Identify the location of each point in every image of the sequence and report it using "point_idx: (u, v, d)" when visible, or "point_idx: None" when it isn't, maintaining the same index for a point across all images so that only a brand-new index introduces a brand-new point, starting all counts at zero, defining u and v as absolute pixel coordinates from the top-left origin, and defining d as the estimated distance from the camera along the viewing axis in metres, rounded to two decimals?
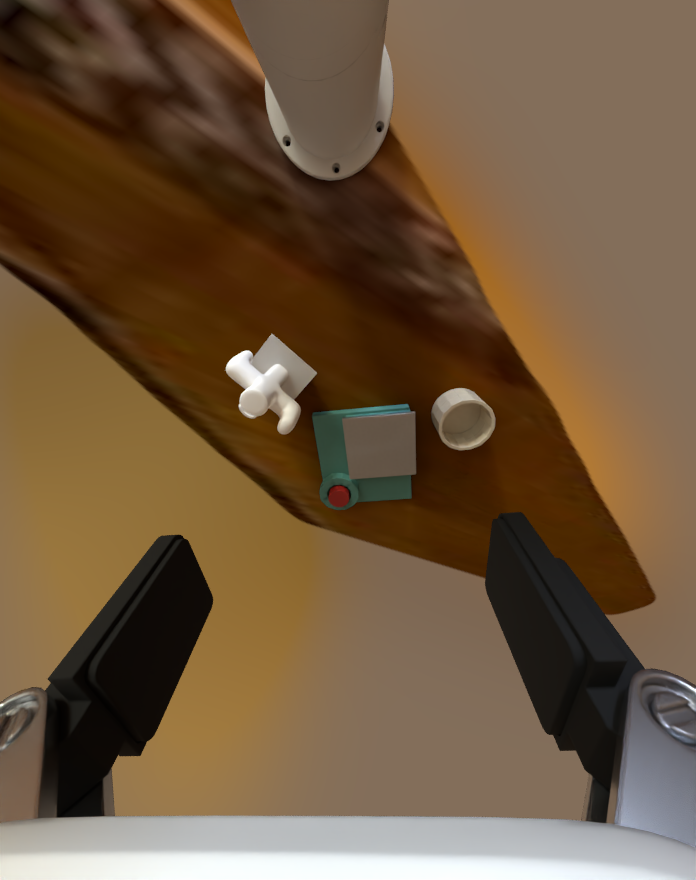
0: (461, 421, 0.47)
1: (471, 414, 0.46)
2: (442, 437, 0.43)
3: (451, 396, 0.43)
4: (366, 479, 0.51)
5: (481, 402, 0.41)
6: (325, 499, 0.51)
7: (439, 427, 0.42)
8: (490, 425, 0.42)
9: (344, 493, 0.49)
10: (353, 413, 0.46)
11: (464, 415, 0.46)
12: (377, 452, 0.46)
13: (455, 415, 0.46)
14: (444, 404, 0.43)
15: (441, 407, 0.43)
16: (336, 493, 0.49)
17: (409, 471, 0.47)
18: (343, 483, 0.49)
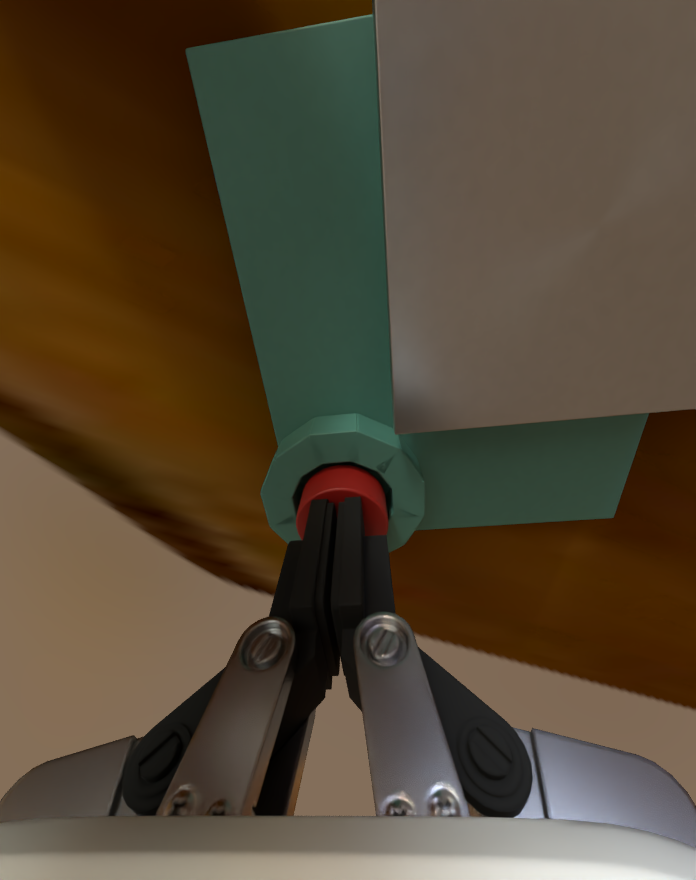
0: None
1: None
2: None
3: None
4: (454, 443, 0.12)
5: None
6: (287, 524, 0.12)
7: None
8: None
9: (368, 501, 0.10)
10: None
11: None
12: (572, 263, 0.08)
13: None
14: None
15: None
16: (331, 501, 0.10)
17: None
18: (363, 456, 0.11)
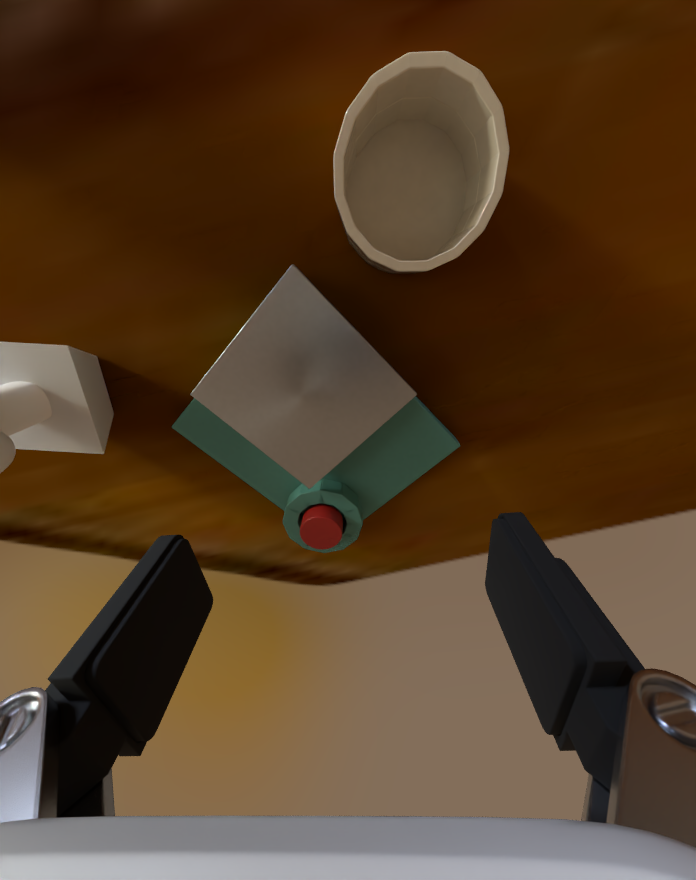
0: (429, 208, 0.18)
1: (438, 170, 0.17)
2: (386, 261, 0.15)
3: None
4: (350, 467, 0.24)
5: (399, 61, 0.12)
6: None
7: (358, 242, 0.15)
8: (485, 112, 0.13)
9: (320, 519, 0.23)
10: None
11: (424, 188, 0.17)
12: (305, 407, 0.20)
13: (405, 207, 0.18)
14: None
15: None
16: (307, 527, 0.23)
17: (398, 398, 0.20)
18: (310, 501, 0.24)
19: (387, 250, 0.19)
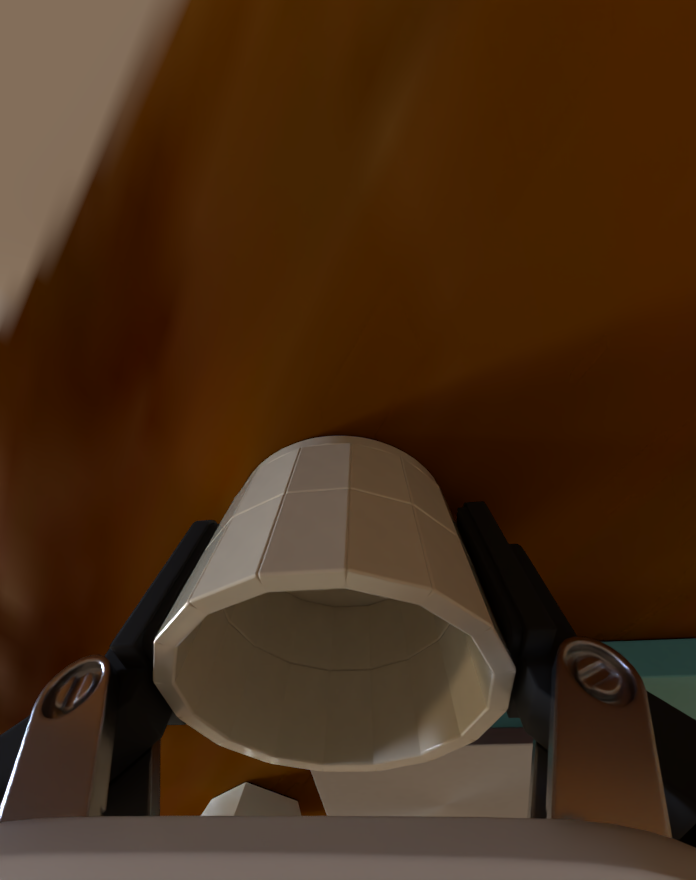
0: None
1: None
2: (403, 763, 0.08)
3: None
4: None
5: (159, 652, 0.06)
6: None
7: None
8: None
9: None
10: None
11: None
12: (462, 809, 0.13)
13: None
14: None
15: None
16: None
17: None
18: None
19: None
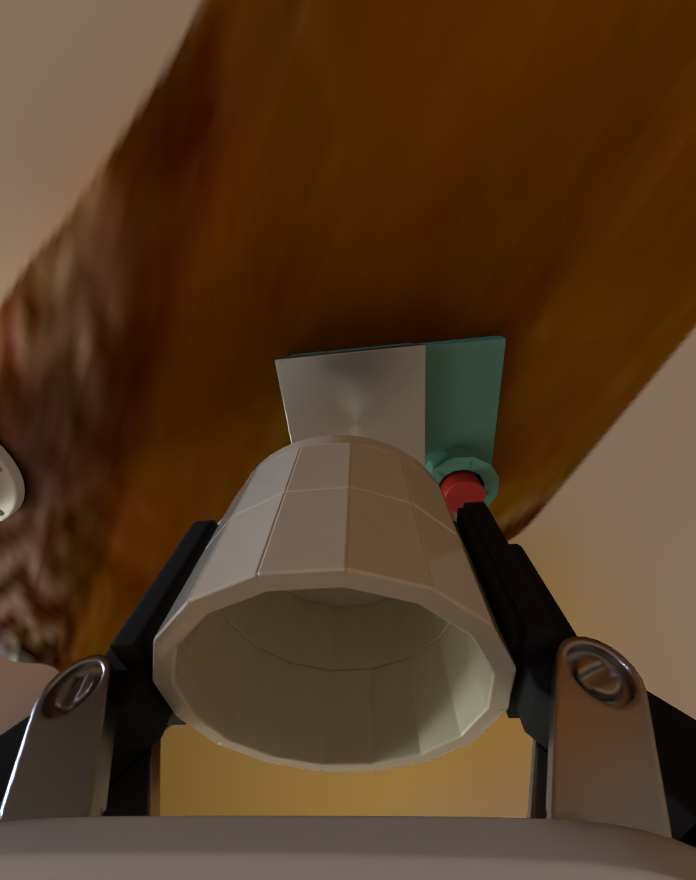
0: None
1: None
2: (403, 763, 0.08)
3: None
4: (440, 433, 0.26)
5: (158, 651, 0.06)
6: None
7: None
8: None
9: (452, 488, 0.25)
10: None
11: None
12: (366, 427, 0.23)
13: None
14: None
15: None
16: (450, 501, 0.25)
17: (416, 360, 0.21)
18: None
19: None
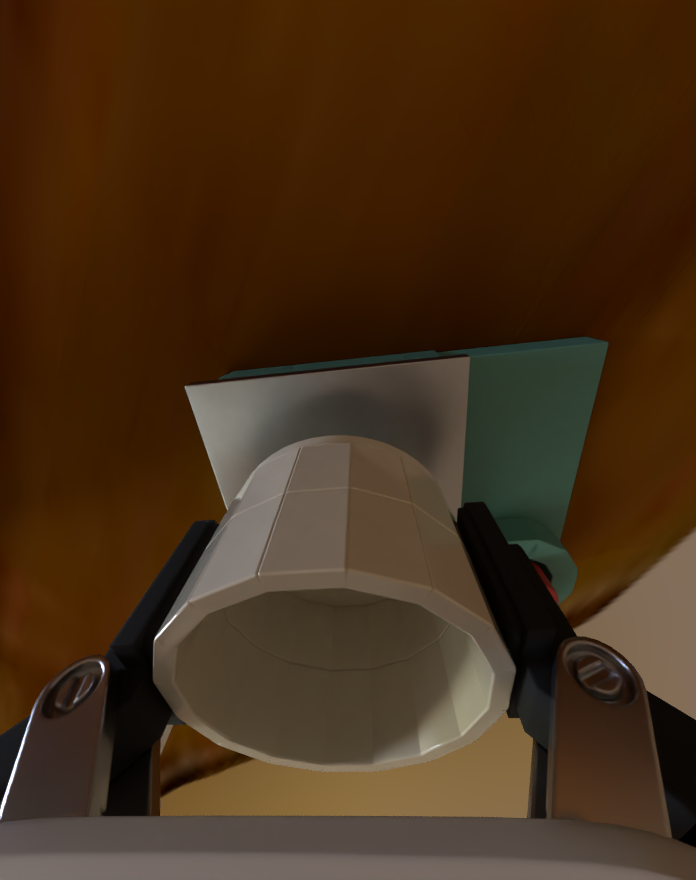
0: None
1: None
2: (403, 763, 0.08)
3: None
4: (480, 497, 0.16)
5: (159, 651, 0.06)
6: None
7: None
8: None
9: None
10: None
11: None
12: None
13: None
14: None
15: None
16: None
17: (451, 386, 0.11)
18: None
19: None
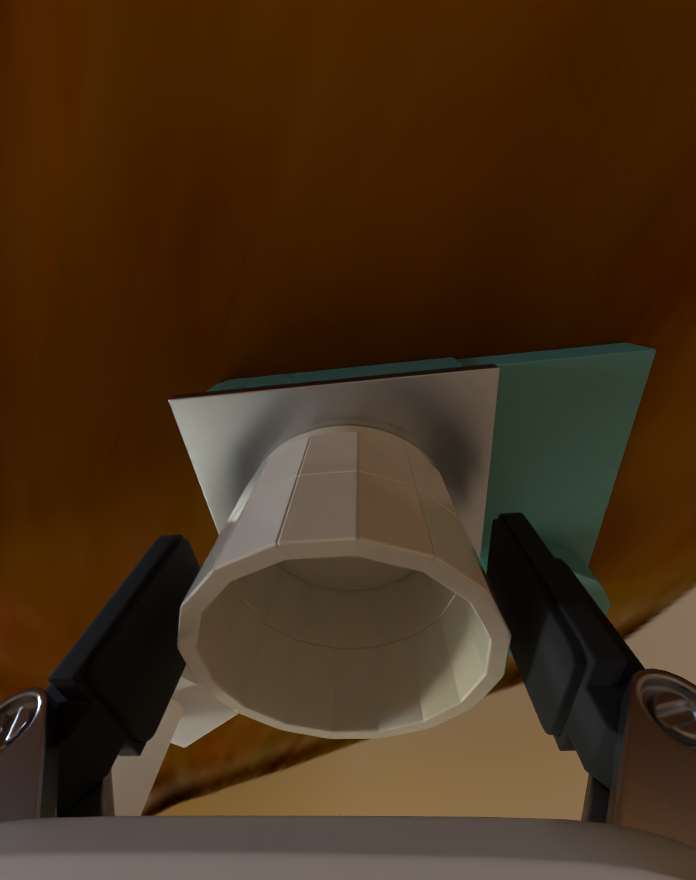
0: None
1: None
2: (407, 730, 0.08)
3: None
4: None
5: (184, 618, 0.07)
6: None
7: None
8: None
9: None
10: None
11: None
12: None
13: None
14: None
15: None
16: None
17: (476, 401, 0.10)
18: None
19: (383, 573, 0.12)
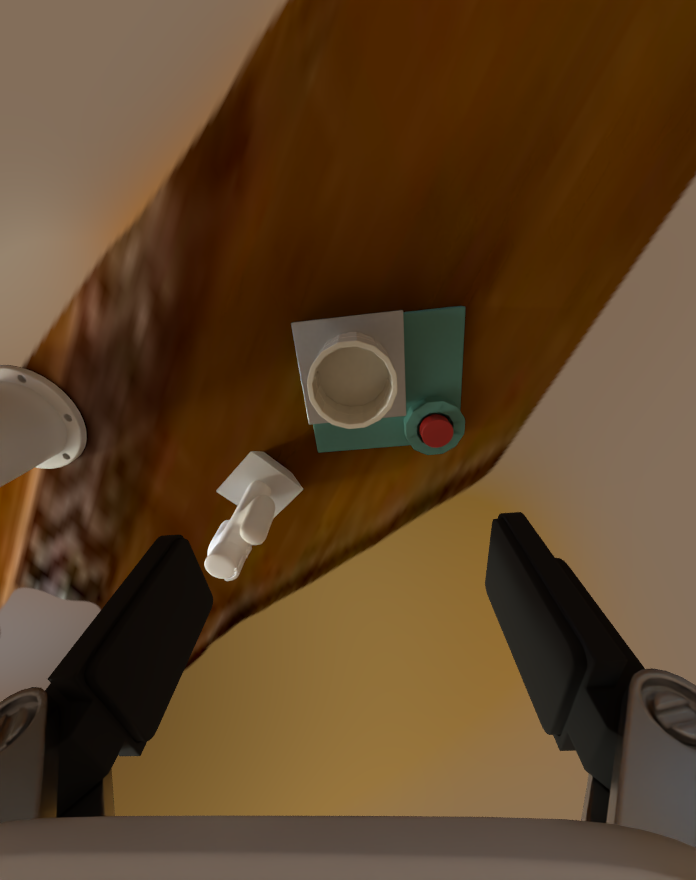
0: (366, 365, 0.29)
1: (354, 351, 0.29)
2: (372, 421, 0.27)
3: None
4: (418, 384, 0.33)
5: (310, 371, 0.25)
6: (441, 447, 0.34)
7: (355, 427, 0.27)
8: None
9: (427, 425, 0.32)
10: None
11: (355, 362, 0.29)
12: None
13: (355, 376, 0.30)
14: None
15: None
16: (426, 436, 0.32)
17: (396, 322, 0.28)
18: (415, 422, 0.33)
19: (366, 396, 0.31)
